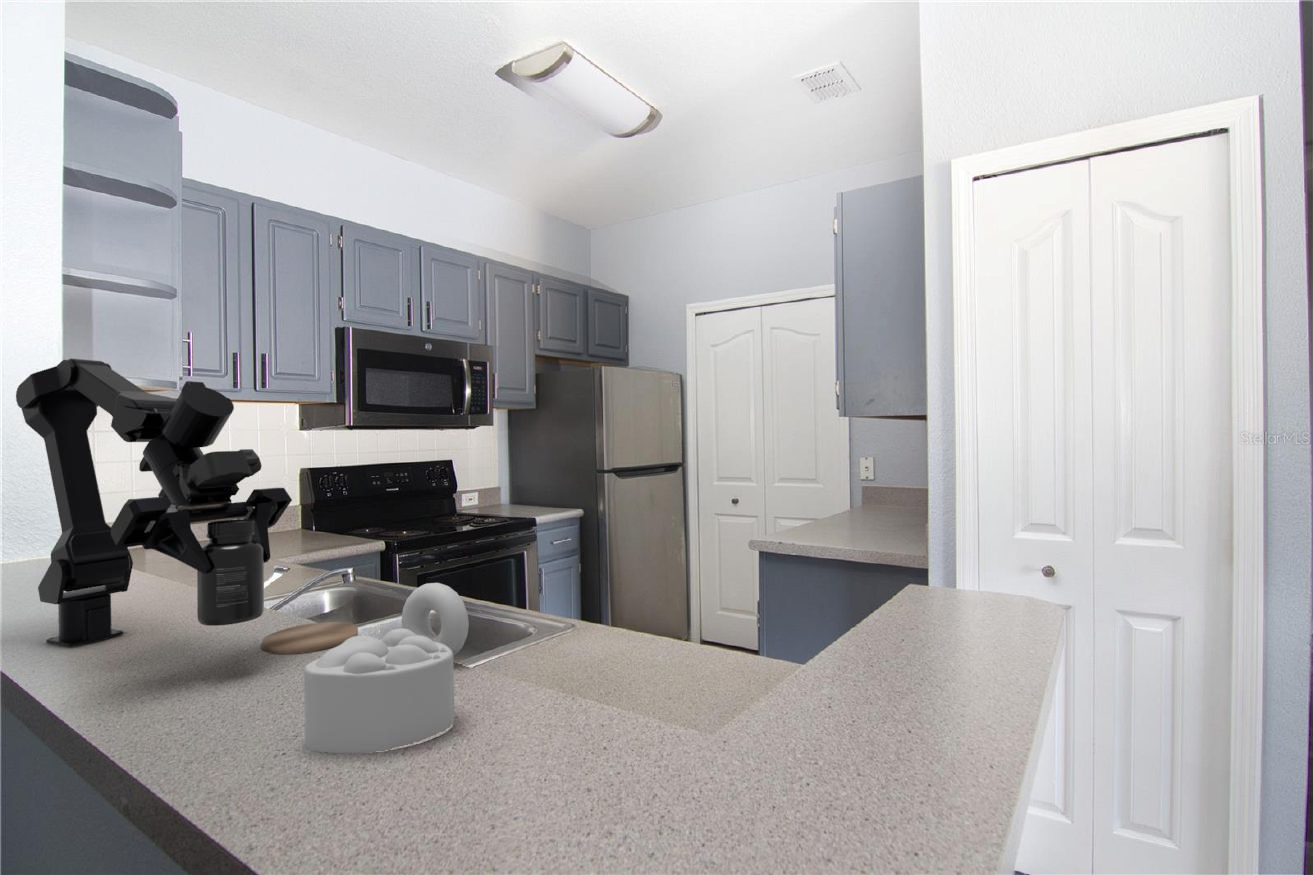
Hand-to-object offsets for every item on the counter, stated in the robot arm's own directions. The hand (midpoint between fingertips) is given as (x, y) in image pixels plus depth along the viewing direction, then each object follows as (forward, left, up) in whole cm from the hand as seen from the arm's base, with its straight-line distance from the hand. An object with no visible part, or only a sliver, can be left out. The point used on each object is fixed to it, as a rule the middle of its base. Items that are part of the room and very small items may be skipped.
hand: (239, 565), depth 78 cm
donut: (+19, +12, -13) cm, 26 cm away
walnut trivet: (-4, +13, -13) cm, 19 cm away
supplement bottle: (-1, 0, -7) cm, 7 cm away
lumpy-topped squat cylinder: (+28, -5, -14) cm, 31 cm away
